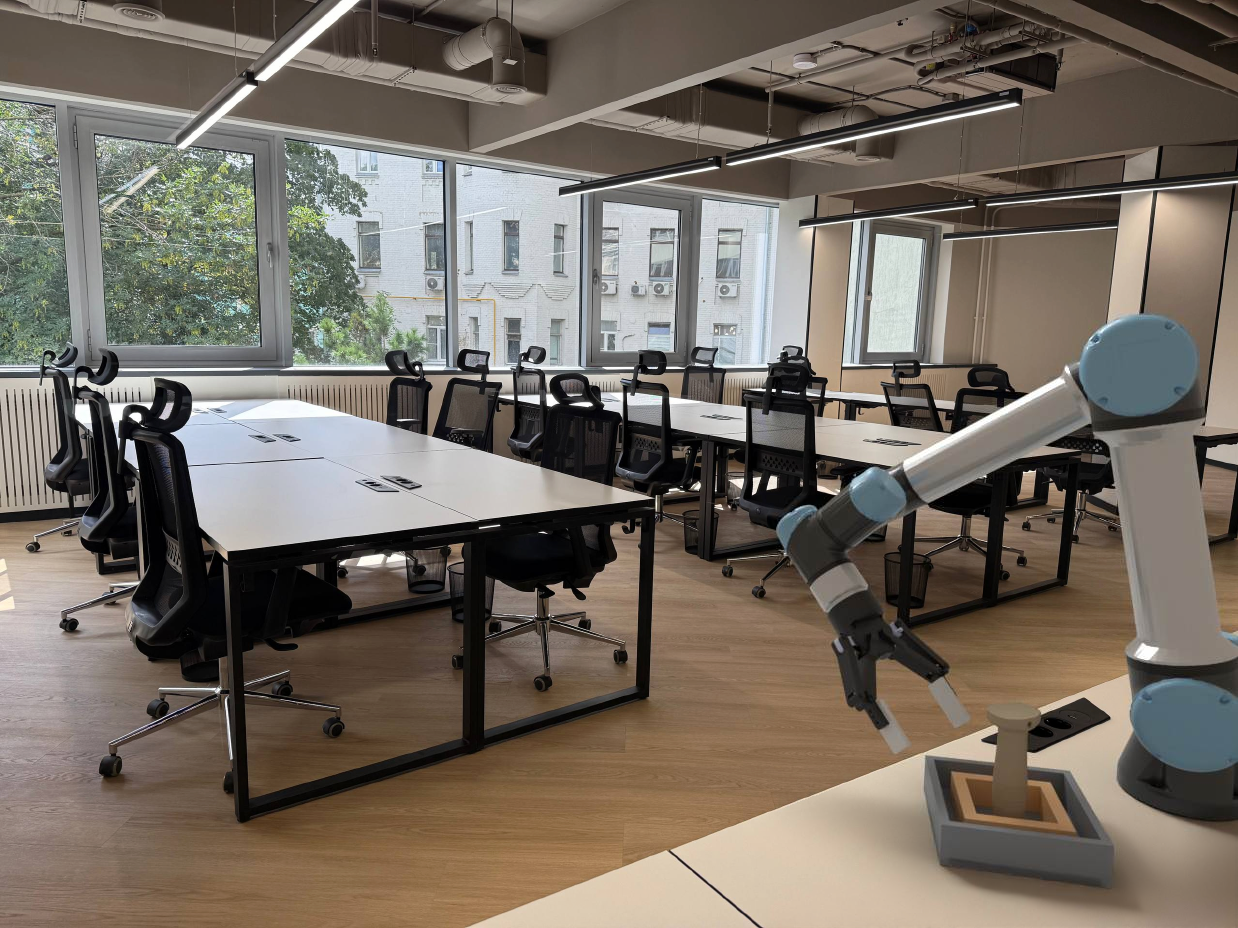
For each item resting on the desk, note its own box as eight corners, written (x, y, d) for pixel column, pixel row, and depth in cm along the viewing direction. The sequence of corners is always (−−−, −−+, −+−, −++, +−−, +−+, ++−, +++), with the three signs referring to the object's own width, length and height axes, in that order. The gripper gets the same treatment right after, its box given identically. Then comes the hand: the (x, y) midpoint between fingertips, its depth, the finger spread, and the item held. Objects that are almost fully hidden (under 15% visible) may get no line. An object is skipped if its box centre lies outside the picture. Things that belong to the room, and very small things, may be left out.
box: (1067, 806, 110) (1069, 770, 110) (1110, 888, 93) (1114, 845, 92) (923, 789, 115) (925, 754, 114) (939, 864, 97) (941, 824, 97)
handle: (1042, 830, 103) (1049, 713, 101) (1003, 841, 100) (1010, 722, 99) (1011, 811, 107) (1017, 699, 106) (972, 821, 105) (978, 707, 103)
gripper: (885, 601, 132) (968, 724, 121) (773, 630, 117) (857, 773, 107) (915, 575, 127) (1004, 701, 116) (803, 601, 112) (893, 749, 102)
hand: (934, 736), depth 112 cm, fingers open, 13 cm apart
